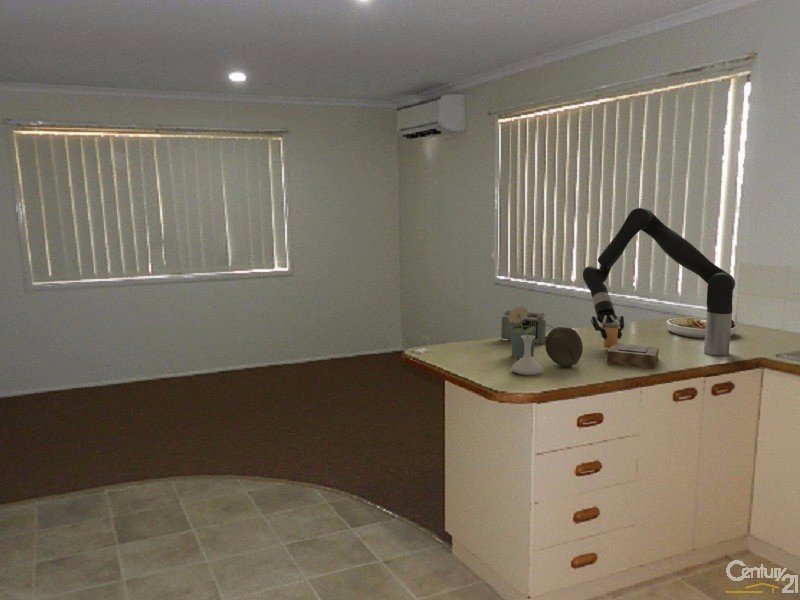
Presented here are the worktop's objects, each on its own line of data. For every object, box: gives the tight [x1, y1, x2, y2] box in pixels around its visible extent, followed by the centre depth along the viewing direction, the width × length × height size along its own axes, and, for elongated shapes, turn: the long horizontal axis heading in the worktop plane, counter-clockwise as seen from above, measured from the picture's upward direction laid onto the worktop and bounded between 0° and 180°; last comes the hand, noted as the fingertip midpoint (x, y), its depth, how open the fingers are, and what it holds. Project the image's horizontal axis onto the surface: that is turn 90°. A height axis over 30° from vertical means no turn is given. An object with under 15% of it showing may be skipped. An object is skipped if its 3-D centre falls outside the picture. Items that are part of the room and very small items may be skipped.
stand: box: [606, 342, 660, 370], centre depth 245 cm, size 17×16×5 cm
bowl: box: [666, 317, 738, 339], centre depth 298 cm, size 30×30×8 cm
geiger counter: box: [500, 309, 555, 345], centre depth 280 cm, size 14×6×25 cm
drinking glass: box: [510, 326, 536, 359], centre depth 253 cm, size 10×10×12 cm
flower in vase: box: [508, 305, 544, 376], centre depth 226 cm, size 13×11×25 cm
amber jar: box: [603, 322, 619, 349], centre depth 263 cm, size 6×6×10 cm
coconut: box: [544, 326, 584, 368], centre depth 238 cm, size 14×14×15 cm
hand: (612, 337), depth 262 cm, fingers closed on amber jar, 5 cm apart
